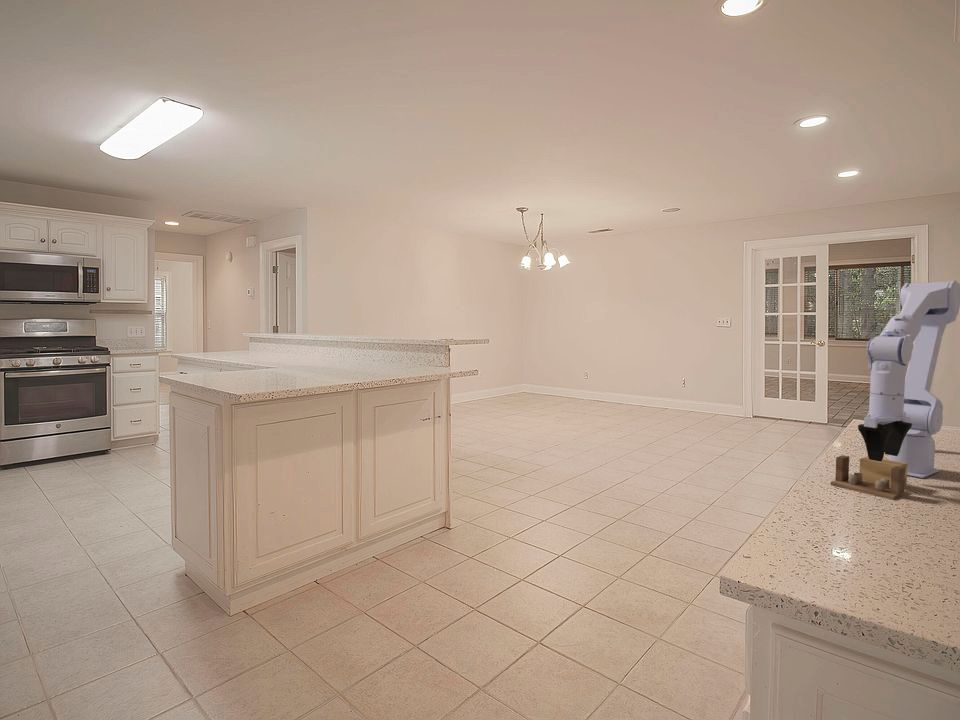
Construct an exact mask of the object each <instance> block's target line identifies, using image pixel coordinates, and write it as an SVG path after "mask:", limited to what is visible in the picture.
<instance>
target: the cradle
mask: <svg viewBox="0 0 960 720" xmlns="http://www.w3.org/2000/svg"><path fill="white" fill-rule="evenodd" d="M849 471H850V456H849V455H845V454H844V455H839V456H836V459H835V480H833V481H830V485H831V486H834V487H837V488H842V489H847V490H850V491H851V490H852V491H855V492H860V493H863V494H868V495H870V496H871V495H872V496H876V497H880V498H883V499H888V500H892V501H894V500H895V499H899V498H900V497H903V496H906V495H907V494H909V490H908V489H905V487H904V485H905V467H902V466H896V467H893V468H892V469H891V486H889V485H890V480H889V479H885V478H881V481H880V480H876V483H874V482H869V481H865V480H862V474H861V473H860V472H854V473H853V474H850V472H849Z"/></svg>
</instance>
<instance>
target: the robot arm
mask: <svg viewBox="0 0 960 720" xmlns="http://www.w3.org/2000/svg"><path fill="white" fill-rule="evenodd" d="M899 302H900V306H901V309H900V313H899V314H896V315H894V316H892V317H891V318H890V319H889V320H888V322H887V323H886V325H885V326H884V327H883V329H882V331H881V333H880V334H879V335H878V336H877V335H876V336H874V337H873V338H870V339H869V340H868V341H867V345H866V358H867V363H868V364H867V367H868V371H870V380H869V381H870V383H869V384H870V385H869V404H868V405H869V406H868V412H867V415H866V416H865V417H864V420H863V422H864V423H861V424H858V425H857V430H858V431H859V433H860V434H861V437H862V438H863V441H864V444H865V449H866V453H867V456H868V457H869V459H870V460H875V461H882V459H884V456H885V455H887V456H888V460H893V461H899V462H904V463H908V467H907V476H912V477H916V478H921V479H924V478H926V477H929V476H931V475H933V474H936V473H938V472H940V469H939V468H935V458H936V457H935V453H936V442H935V440H934V438H933V437H932V436H933V435H936V434H937V433H939V432H940V431H941V428H942V425H943V417H944V415H943V412H944V406H943V403H942V401H941V400H940V399H939V398H938V397H937V396H936V395H934V394H933V393H931V389H932V383H933V380H934V379H933V378H934V375H935V370H936V366H937V362H938V358H939V353H940V348H941V345H942V339H943V336H944V333H945V330H946V328H947V327H946V326H947V325H949V324H951V323H954V322H955V321H956V320H957V317H958V315H959V311H960V282H958V281H957V280H951V281H932V282H914V283H913V282H905V284H904V285H902V286H901V289H900V293H899ZM907 365H908V366H907Z"/></svg>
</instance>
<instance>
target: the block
mask: <svg viewBox="0 0 960 720" xmlns="http://www.w3.org/2000/svg"><path fill="white" fill-rule="evenodd" d="M896 466H902V467H905V485H904V488H905V487H907V483H908V475H907V467H908V463H904V462H899V461H893V460H889V458H888V459H886V458H883V459H882V461H875V460H870V459H869V457H868V455H867V456H864V457H861V458H859V473H861V474H862V480H865V481H869V482H874V483H876V480H880V481H881V478H885V479H889V480H890V485H889V486H891V469H892V468H893V467H896Z"/></svg>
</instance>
